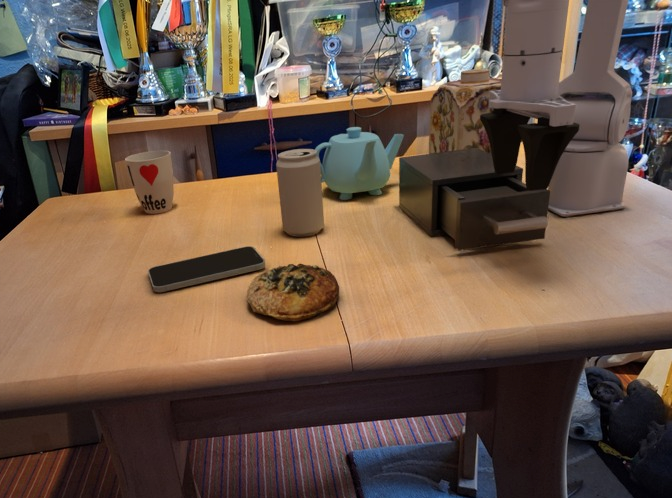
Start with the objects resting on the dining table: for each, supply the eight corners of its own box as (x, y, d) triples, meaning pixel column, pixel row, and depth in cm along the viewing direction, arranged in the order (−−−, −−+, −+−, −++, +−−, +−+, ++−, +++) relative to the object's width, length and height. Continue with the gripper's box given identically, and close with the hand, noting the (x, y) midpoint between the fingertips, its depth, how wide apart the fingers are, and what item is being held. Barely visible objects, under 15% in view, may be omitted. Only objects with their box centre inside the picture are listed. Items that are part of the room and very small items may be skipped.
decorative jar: (455, 183, 100) (460, 76, 92) (426, 169, 110) (428, 71, 102) (516, 174, 101) (526, 67, 93) (482, 161, 112) (489, 63, 104)
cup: (128, 215, 103) (115, 161, 98) (152, 202, 109) (141, 150, 105) (165, 217, 100) (154, 161, 95) (188, 203, 106) (178, 150, 102)
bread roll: (352, 282, 67) (347, 245, 65) (323, 339, 59) (316, 300, 57) (270, 277, 72) (262, 243, 70) (232, 329, 64) (221, 293, 61)
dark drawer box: (565, 252, 68) (573, 201, 65) (474, 264, 67) (477, 214, 64) (495, 208, 84) (499, 166, 81) (421, 218, 83) (422, 176, 80)
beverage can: (321, 238, 83) (316, 156, 77) (279, 239, 84) (271, 159, 79) (326, 223, 88) (322, 146, 83) (286, 224, 90) (279, 148, 84)
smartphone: (147, 268, 77) (251, 244, 80) (148, 274, 77) (252, 250, 80) (153, 288, 70) (266, 262, 74) (154, 295, 71) (267, 268, 74)
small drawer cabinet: (517, 225, 79) (523, 168, 76) (431, 237, 79) (432, 180, 75) (473, 197, 92) (476, 147, 89) (399, 207, 92) (399, 157, 88)
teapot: (412, 184, 102) (413, 120, 97) (375, 206, 93) (374, 137, 88) (341, 178, 111) (338, 119, 106) (301, 197, 102) (295, 134, 97)
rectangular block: (503, 216, 77) (506, 185, 75) (522, 228, 73) (525, 195, 71) (454, 223, 77) (455, 192, 75) (469, 235, 72) (471, 203, 70)
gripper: (467, 54, 65) (461, 170, 71) (531, 60, 52) (517, 202, 58) (525, 47, 65) (514, 163, 71) (604, 52, 52) (582, 193, 58)
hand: (519, 180), depth 65 cm, fingers open, 7 cm apart
